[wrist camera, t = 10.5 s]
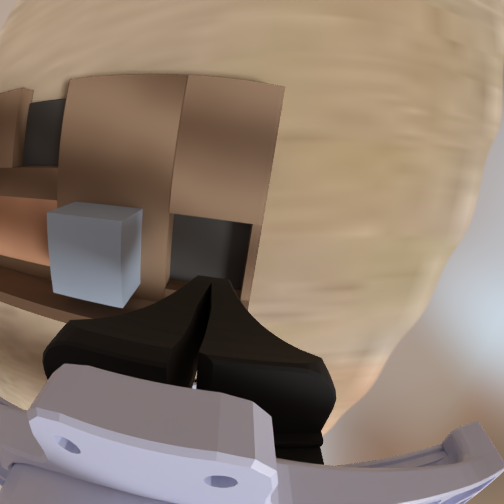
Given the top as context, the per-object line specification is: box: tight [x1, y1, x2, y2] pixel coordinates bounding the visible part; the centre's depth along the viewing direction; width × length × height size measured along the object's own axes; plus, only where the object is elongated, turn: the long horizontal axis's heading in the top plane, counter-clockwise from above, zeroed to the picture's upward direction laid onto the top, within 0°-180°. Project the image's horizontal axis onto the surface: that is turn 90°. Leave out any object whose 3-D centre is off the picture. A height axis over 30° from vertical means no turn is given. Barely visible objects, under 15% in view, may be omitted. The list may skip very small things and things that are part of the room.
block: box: [47, 202, 143, 308], centre depth 14 cm, size 4×4×3 cm
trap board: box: [0, 74, 285, 323], centre depth 14 cm, size 14×21×4 cm, turn 81°
